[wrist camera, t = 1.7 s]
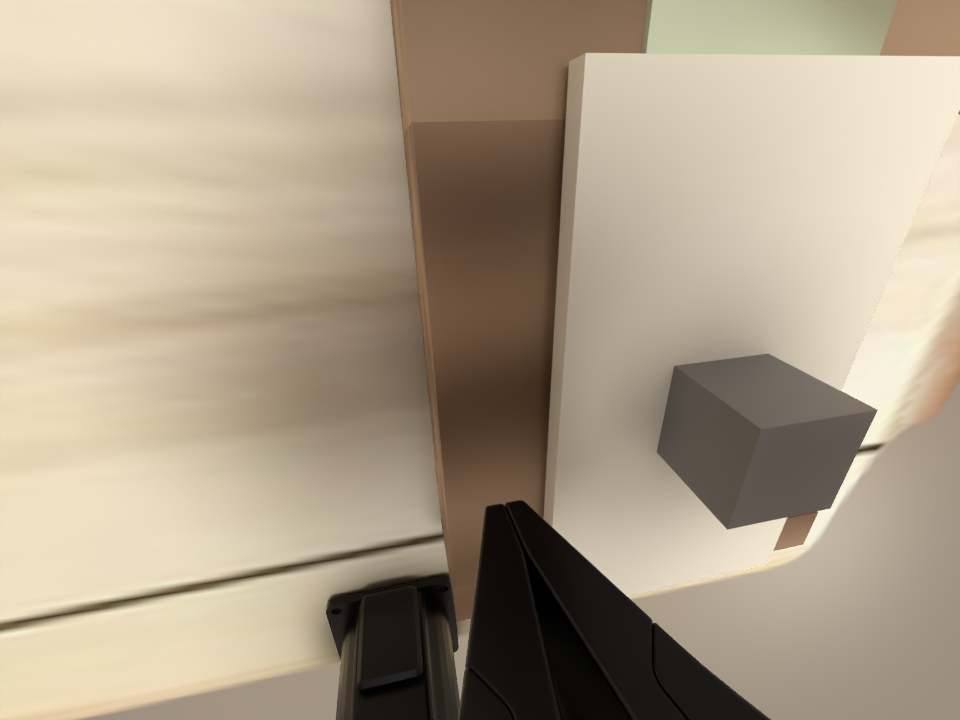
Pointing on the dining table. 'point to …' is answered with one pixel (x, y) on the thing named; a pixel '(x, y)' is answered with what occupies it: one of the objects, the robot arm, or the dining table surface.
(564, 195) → the cover
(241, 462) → the dining table surface
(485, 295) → the brown shallow open box
